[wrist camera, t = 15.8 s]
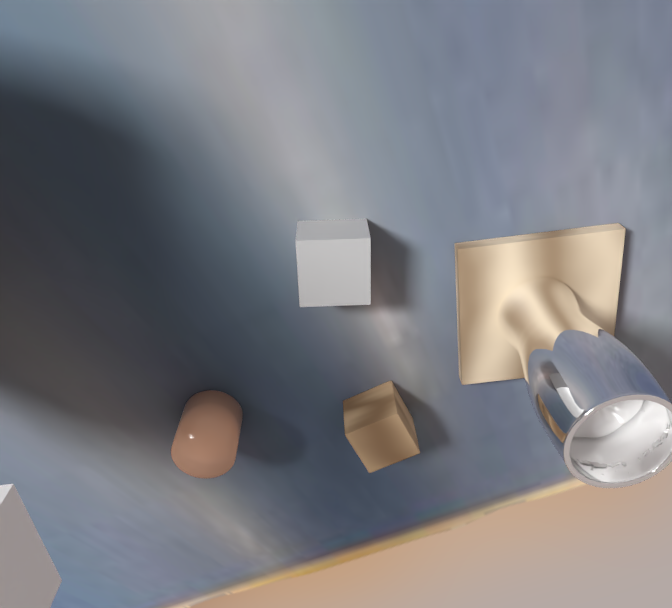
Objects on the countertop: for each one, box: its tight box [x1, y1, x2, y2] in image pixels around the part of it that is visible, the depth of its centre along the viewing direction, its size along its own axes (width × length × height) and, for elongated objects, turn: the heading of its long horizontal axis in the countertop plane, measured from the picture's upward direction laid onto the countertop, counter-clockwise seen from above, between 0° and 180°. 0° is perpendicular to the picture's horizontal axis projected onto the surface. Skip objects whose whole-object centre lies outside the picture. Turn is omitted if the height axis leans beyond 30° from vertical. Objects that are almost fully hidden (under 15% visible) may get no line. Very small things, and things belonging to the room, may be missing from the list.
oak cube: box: [343, 381, 420, 473], centre depth 50 cm, size 4×4×4 cm
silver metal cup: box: [497, 278, 672, 488], centre depth 39 cm, size 7×7×15 cm
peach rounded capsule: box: [171, 390, 243, 478], centre depth 49 cm, size 5×5×5 cm
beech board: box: [455, 223, 625, 385], centre depth 47 cm, size 12×12×1 cm
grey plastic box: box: [296, 219, 371, 307], centre depth 43 cm, size 5×5×4 cm
